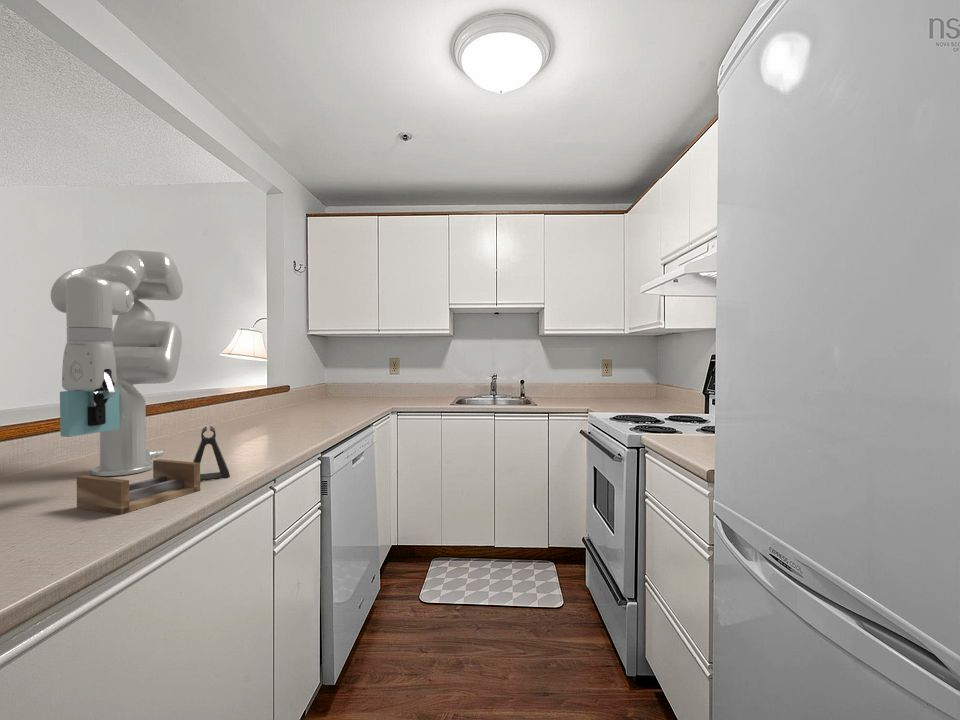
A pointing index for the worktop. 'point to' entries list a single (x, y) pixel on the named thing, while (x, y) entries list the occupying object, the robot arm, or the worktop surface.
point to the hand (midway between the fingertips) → (91, 423)
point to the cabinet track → (138, 488)
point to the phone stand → (219, 458)
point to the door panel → (85, 413)
